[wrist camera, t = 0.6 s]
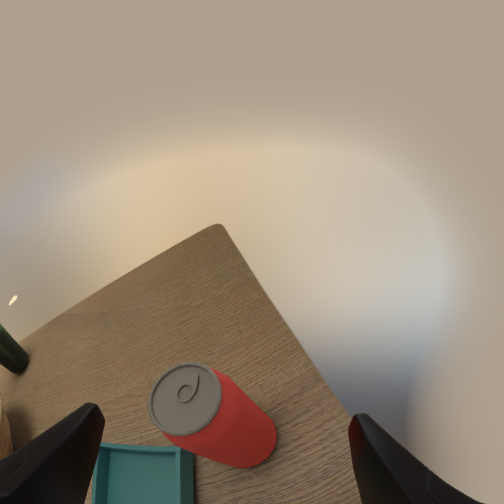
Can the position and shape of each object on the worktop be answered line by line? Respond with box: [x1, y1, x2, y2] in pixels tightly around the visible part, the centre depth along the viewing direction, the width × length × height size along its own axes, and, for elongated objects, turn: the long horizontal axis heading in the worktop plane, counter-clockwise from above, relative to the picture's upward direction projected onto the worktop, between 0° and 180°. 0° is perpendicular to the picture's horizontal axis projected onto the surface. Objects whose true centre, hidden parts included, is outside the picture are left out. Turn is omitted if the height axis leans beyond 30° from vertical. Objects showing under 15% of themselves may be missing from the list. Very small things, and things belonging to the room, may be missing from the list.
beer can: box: [148, 362, 277, 468], centre depth 19 cm, size 7×7×12 cm
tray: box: [92, 442, 194, 504], centre depth 19 cm, size 12×12×2 cm
